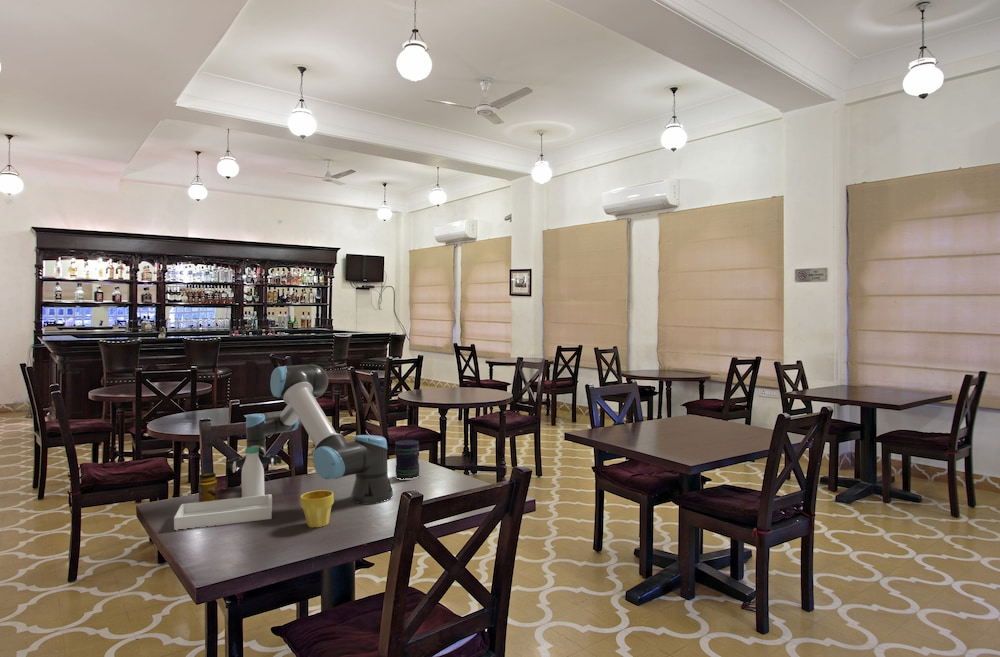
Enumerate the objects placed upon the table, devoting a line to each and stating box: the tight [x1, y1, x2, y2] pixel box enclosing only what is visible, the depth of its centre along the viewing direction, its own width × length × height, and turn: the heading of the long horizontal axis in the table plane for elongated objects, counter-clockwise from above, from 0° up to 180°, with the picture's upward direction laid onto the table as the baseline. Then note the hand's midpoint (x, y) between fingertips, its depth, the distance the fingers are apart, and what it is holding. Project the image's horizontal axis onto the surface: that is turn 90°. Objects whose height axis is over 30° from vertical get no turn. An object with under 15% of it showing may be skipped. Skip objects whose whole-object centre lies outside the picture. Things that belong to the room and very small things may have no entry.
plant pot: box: [300, 489, 335, 528], centre depth 196 cm, size 10×10×10 cm
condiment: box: [197, 471, 218, 502], centre depth 217 cm, size 7×8×12 cm
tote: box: [173, 493, 273, 531], centre depth 205 cm, size 29×16×4 cm, turn 110°
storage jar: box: [394, 439, 420, 479], centre depth 252 cm, size 10×10×15 cm
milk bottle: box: [240, 447, 266, 498], centre depth 222 cm, size 8×8×20 cm
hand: (253, 467), depth 230 cm, fingers open, 13 cm apart
